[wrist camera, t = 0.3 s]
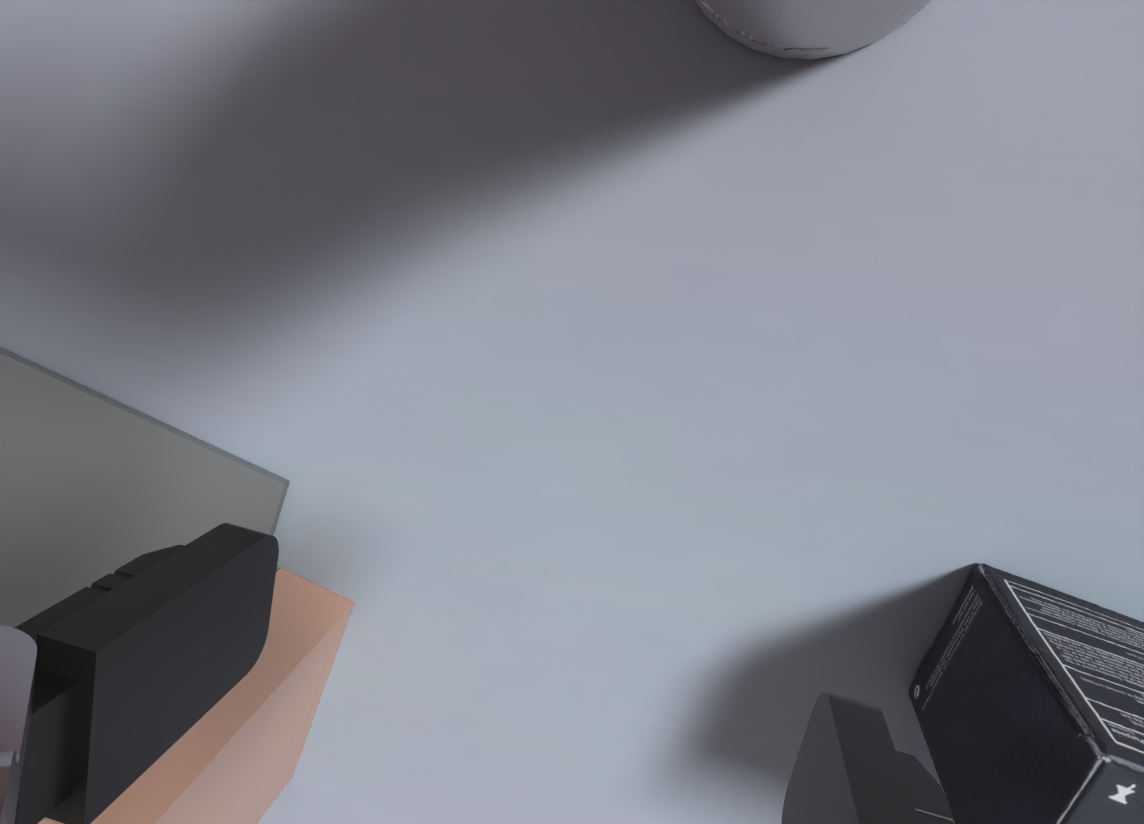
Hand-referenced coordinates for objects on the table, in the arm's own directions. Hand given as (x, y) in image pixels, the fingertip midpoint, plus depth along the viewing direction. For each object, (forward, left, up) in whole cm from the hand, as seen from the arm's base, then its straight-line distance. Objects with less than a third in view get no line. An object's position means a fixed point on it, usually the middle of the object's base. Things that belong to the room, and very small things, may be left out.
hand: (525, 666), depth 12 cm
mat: (+19, -20, -19) cm, 33 cm away
